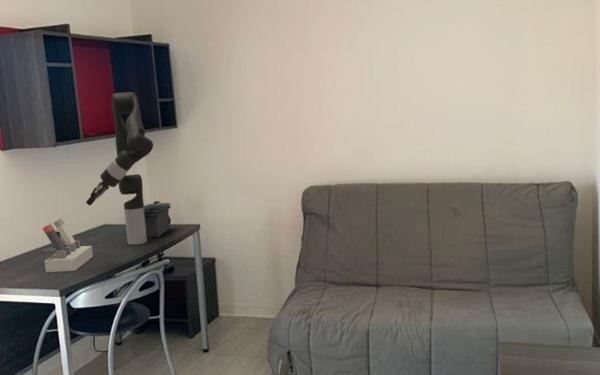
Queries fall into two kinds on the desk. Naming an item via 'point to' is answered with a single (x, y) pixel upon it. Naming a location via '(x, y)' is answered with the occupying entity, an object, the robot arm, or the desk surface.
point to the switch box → (69, 258)
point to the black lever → (54, 238)
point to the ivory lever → (64, 232)
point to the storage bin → (156, 219)
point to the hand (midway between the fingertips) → (88, 203)
